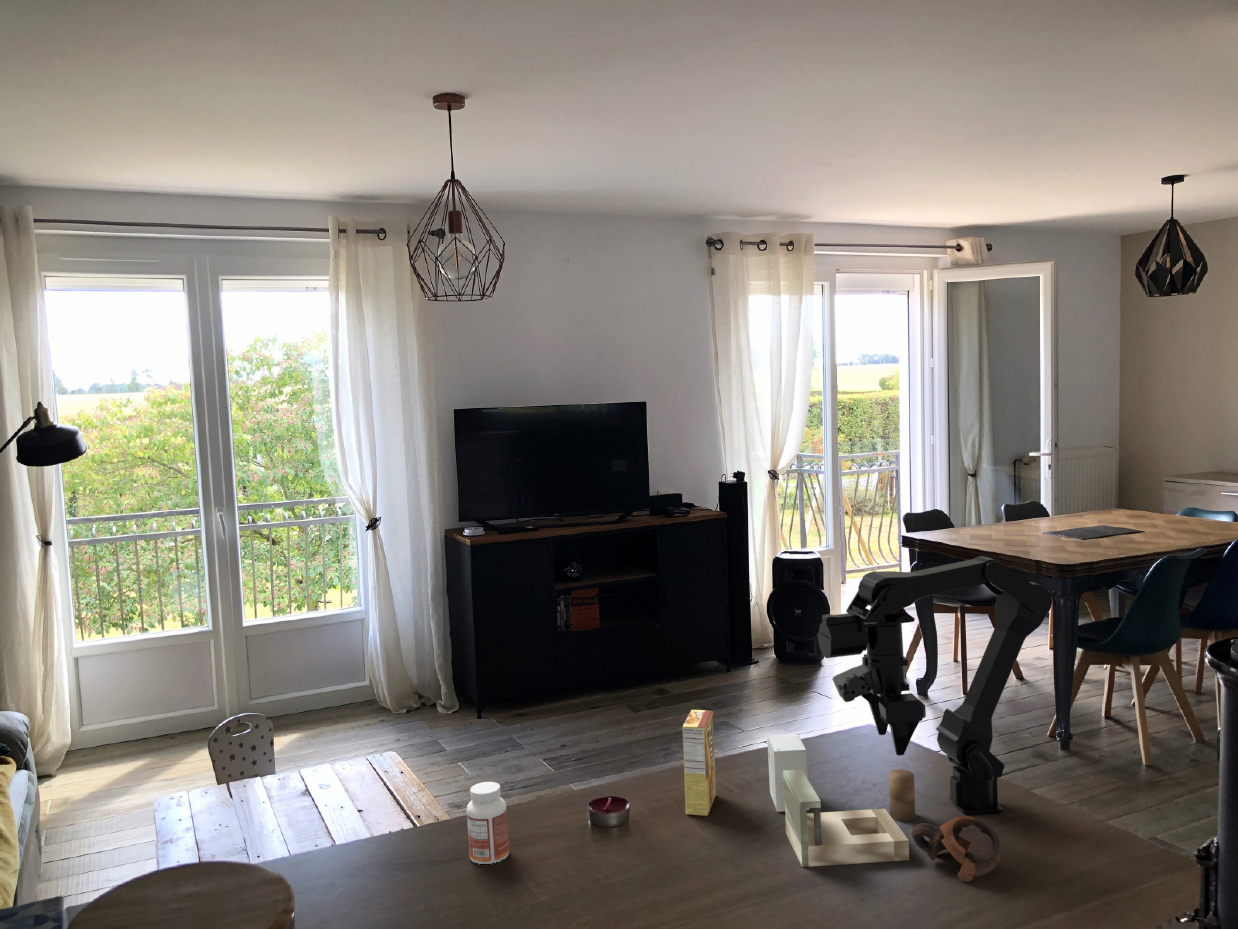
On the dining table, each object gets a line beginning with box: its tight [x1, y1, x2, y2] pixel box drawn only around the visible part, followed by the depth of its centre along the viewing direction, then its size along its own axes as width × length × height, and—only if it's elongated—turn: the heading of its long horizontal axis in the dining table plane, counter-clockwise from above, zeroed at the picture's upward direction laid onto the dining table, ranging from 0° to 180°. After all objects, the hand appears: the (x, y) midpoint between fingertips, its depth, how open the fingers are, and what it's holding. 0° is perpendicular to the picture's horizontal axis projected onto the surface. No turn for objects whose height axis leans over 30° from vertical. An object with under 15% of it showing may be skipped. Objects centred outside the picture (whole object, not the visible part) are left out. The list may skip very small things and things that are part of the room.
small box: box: [766, 733, 810, 813], centre depth 158 cm, size 8×6×10 cm
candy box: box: [682, 709, 716, 817], centre depth 159 cm, size 9×4×15 cm, turn 166°
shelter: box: [783, 769, 910, 868], centre depth 142 cm, size 16×12×10 cm
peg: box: [888, 768, 916, 822], centre depth 151 cm, size 4×4×7 cm
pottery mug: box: [911, 815, 1001, 883], centre depth 134 cm, size 12×10×8 cm
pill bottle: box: [466, 781, 510, 865], centre depth 144 cm, size 6×6×11 cm
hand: (890, 744), depth 151 cm, fingers open, 9 cm apart
